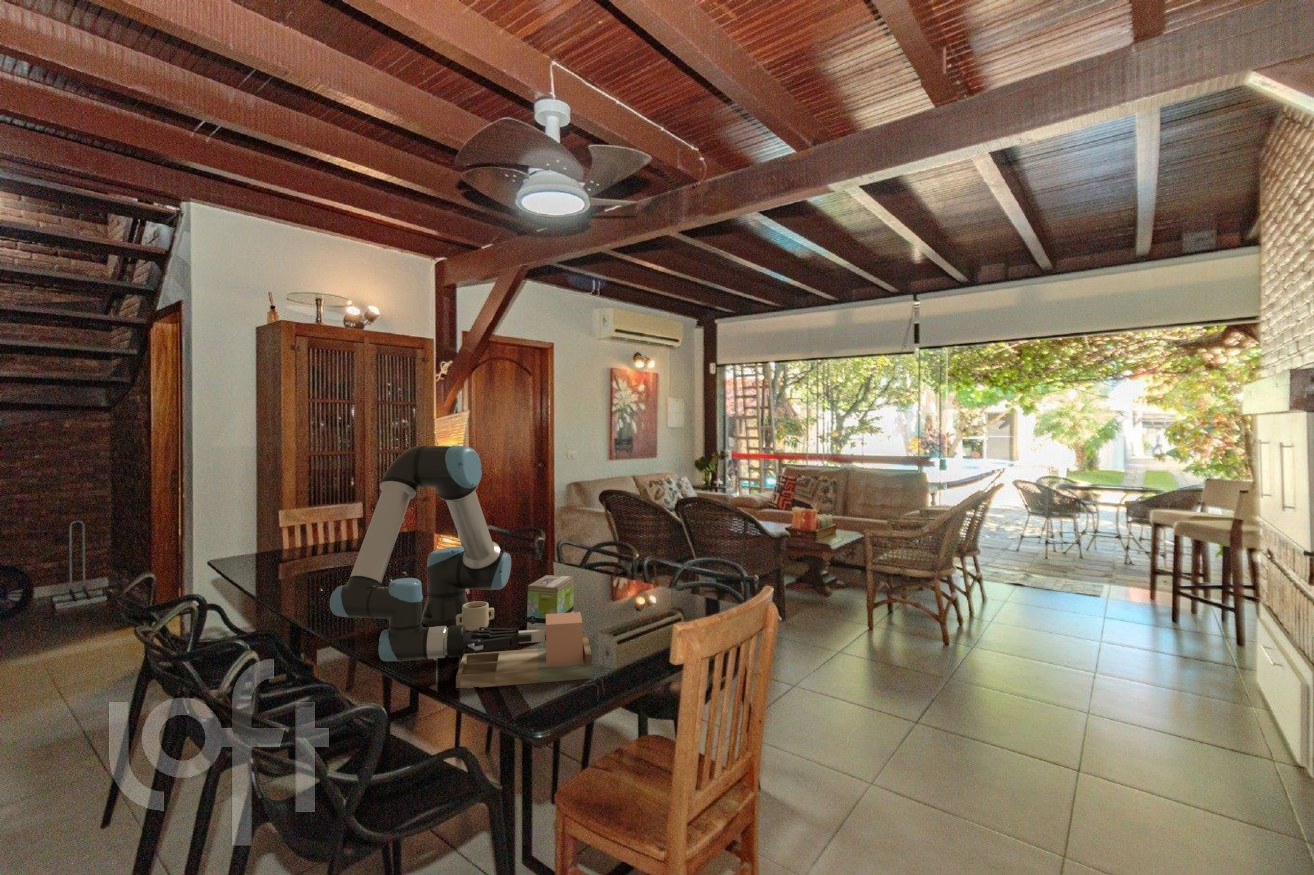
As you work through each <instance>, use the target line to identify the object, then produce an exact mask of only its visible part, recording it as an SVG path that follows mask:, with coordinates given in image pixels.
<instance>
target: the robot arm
mask: <svg viewBox="0 0 1314 875" xmlns="http://www.w3.org/2000/svg"><path fill="white" fill-rule="evenodd" d="M482 475H483V470H482V463H481V459H480V456H479V454H478V453H477V452H476V450H475V449H474V448H472V447H470V446H467V445H460V444H459V445H458V444H455V445H417V446H412V447H410V448H407V450H405V451H403V452H402V453H400V455H398V456H397V458H395V459H394V460H393V462H392V463H391V464H390V465H389V467H388V468H387V469H386V471H385V472H384V475H383V476H382V479H381V481H380V484H379V489H380V491H381V492H380V496H379V498H378V501H377V502H376V506H375V509H374V511H373V514H372V517H371V520H370V522H369V525H368V528H367V530H366V533H365V536H364V539H363V541H362V544H361V546H360V549H359V552H358V555H357V556H356V560H355V563H354V565H353V568H352V571H351V574H350V576H349V579H348V581H347V583H346V584H344V585H338V586H337V587H336V588H334V590H333V591H332V593H331V595H330V598H329V608H330V612H332V614H333V615H334V616H337V617H342V618H343V617H345V618H348V619H354V618H362V619H363V618H364V619H368V618H369V619H379V620H380V619H381V620H382V619H384V620H386V619H387V620H388V629H383V630H381V632H380V636H379V639H378V656H379V658H380V660H381V661H383V662H399V663H400V662H406V661H419V660H431V659H433V661H437V660H438V659H444V658H446V657H449V658H462V657H463V655H464V654H466V653H465V652H466V651H465V649H467V650H474V653H485V652H492V651H495V650H496V651H498V650H503V649H510V648H519V644H529V643H530V644H532V643H544V642H545V643H546V635H545V629H540V630H527V629H525V630H519V627H518V626H516V627H487V628H486V627H480V628H479V630H473V631H471V632H467V630H465V626H464V625H456V615H458V614H462V606H463V604H465V603H469V601H468V598H467V595H466V594H467V592H466V590H467V589H468V590H483V591H484V590H485V591H493V590H494V591H495V590H497V591H498V590H502V589H503V588H505V586H506V585H507V583H508V582H509V579H510V575H511V570H512V569H511V568H512V557H511V554H510V553H508V552H506V551H505V552H502V551H501V548H500V546H499V544H498V543H497V542H495V541H493V540H492V536H491V534H490V531H489V528H488V524H487V522H486V519H485V516H484V513H483V510H482V506H481V504H480V501H479V497H478V494H477V492H476V490H477V489H478V486H479V484H480V482H481V479H482V477H483V476H482ZM420 488H433V489H435V492H436V495H437V497H438V498H440V500H443V501H445V503H446V505H447V507H448V510H449V513H450V515H451V518H452V521H453V523H454V526H455V529H456V532H457V535H458V536H459V540H460V542H461V545H462V546H461V545H460V546H459V545H458V546H450V547H444V548H440V549H436V550H432V551H431V552H430V553H429V554H428V556H427V560H426V562H427V563H426V568H427V569H426V570H427V571H426V574H427V575H426V576H427V577H426V579H427V583H426V584H427V585H426V586H427V599H426V601H425V604H424V608H423V601H424V600H423V599H424V595H423V590H422V589H423V585H422V582H421V580H420V579H419V578H414V577H404V578H403V577H402V578H396V579H393V580H391V581H390V582H389V583H388V586H382V585H381V584H382V582H383V579H384V576H385V574H386V570H387V568H388V566H389V562H390V559H391V557H392V556H391V555H392V553H393V550H394V547H395V543H396V542H397V539H398V535H399V532H400V529H401V526H402V525H403V521H404V518H405V515H406V512H407V509H408V506H409V503H410V501H411V500H412V499H414V498H415V497H416V495H417V494H418V490H419V489H420ZM460 622H462V617H460ZM422 623H423V624H425V625H424V626H423V624H422ZM426 625H429V626H426ZM452 625H454V626H452ZM430 626H435V627H430ZM447 626H448V627H447Z"/></svg>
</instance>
